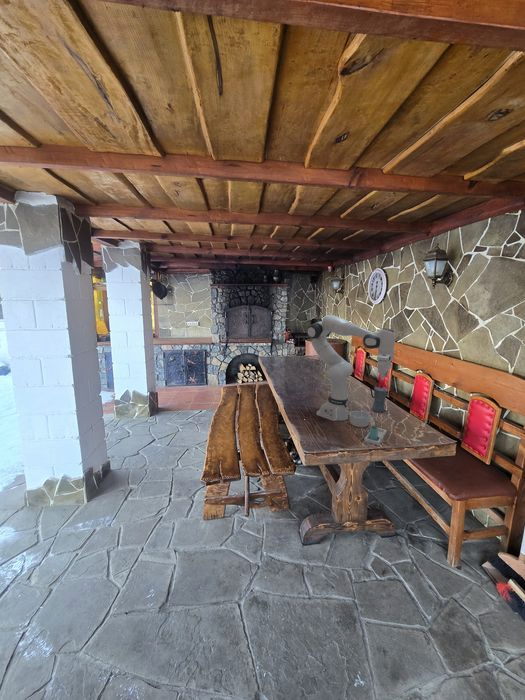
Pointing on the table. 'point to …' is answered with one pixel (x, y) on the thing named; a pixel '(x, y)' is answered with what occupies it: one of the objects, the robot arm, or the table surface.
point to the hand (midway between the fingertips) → (384, 378)
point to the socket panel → (380, 436)
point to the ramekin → (359, 418)
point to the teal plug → (374, 433)
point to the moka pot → (379, 398)
